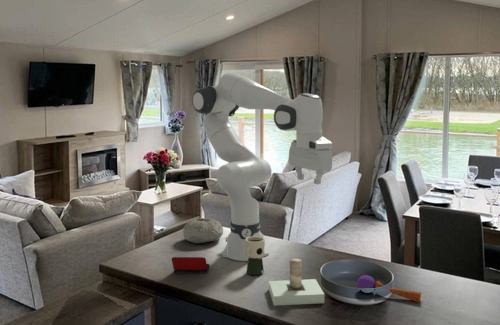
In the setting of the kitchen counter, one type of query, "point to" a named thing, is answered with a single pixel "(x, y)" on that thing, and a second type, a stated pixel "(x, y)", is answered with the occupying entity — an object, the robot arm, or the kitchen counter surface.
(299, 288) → the beech peg
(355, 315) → the kitchen counter surface
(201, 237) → the decorative shell
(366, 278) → the purple and orange maraca
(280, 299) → the sage board
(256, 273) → the character mug
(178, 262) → the handheld game console
